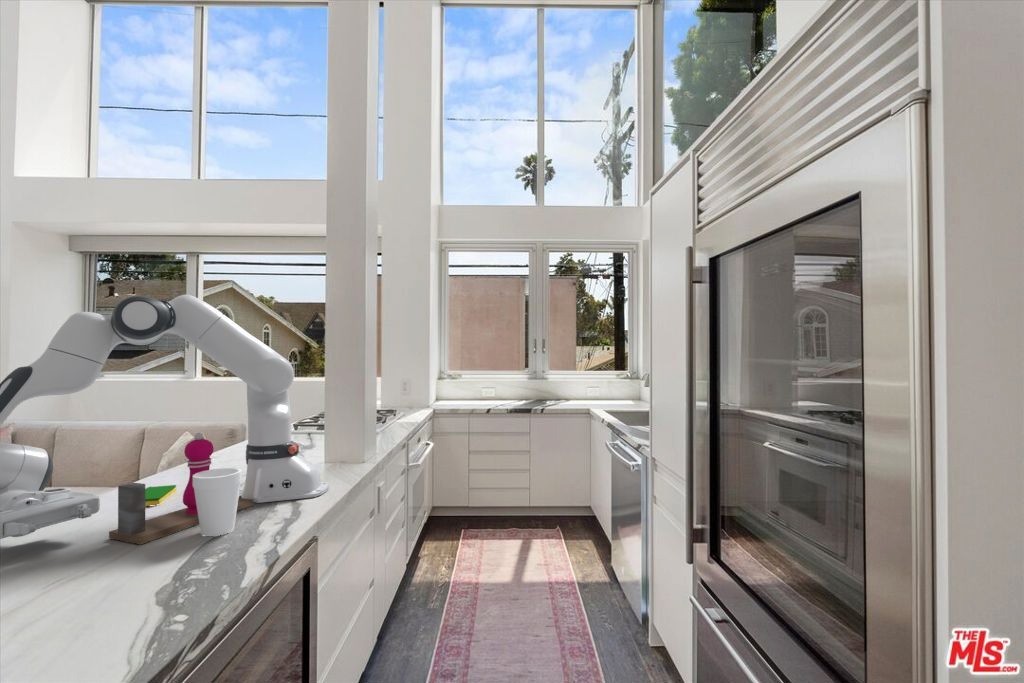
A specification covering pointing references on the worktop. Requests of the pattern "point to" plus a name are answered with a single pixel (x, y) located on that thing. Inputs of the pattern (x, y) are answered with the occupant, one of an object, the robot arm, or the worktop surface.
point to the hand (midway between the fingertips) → (60, 520)
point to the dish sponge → (158, 494)
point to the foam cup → (217, 499)
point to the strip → (142, 530)
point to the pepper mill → (196, 467)
